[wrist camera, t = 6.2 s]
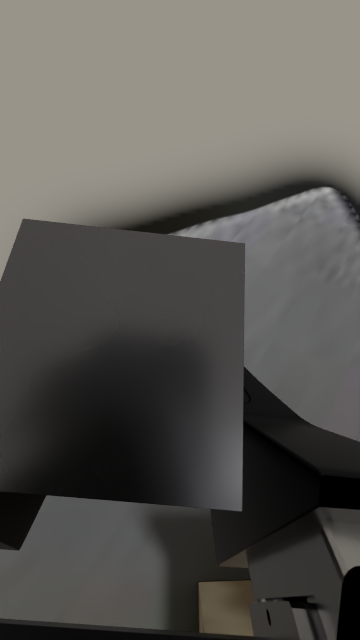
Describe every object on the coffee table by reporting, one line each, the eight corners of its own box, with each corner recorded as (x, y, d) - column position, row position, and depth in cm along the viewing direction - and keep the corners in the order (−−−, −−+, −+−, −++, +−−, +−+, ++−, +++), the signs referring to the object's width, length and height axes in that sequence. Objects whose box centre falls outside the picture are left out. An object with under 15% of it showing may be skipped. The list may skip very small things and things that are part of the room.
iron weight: (199, 404, 15) (373, 688, 2) (115, 397, 14) (-283, 643, 2) (204, 323, 16) (318, 187, 4) (128, 315, 16) (-32, 145, 3)
